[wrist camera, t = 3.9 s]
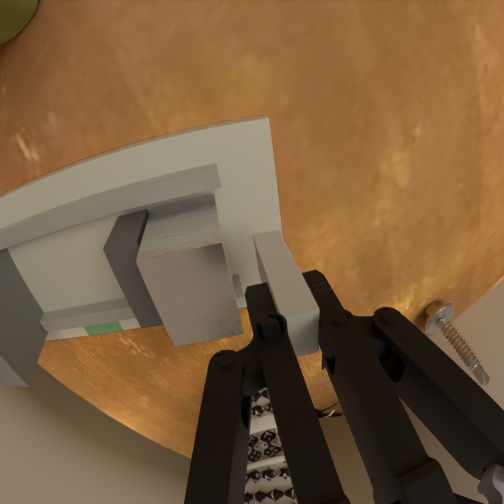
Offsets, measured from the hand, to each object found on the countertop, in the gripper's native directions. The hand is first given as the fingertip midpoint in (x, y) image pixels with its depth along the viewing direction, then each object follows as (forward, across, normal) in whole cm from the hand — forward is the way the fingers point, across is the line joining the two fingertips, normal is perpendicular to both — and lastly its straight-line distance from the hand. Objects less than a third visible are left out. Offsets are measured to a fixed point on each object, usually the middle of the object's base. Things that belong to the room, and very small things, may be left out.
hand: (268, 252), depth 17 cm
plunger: (+3, -4, 0) cm, 5 cm away
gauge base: (+5, -10, 0) cm, 11 cm away
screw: (+5, +20, -17) cm, 27 cm away
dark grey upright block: (+3, -8, -1) cm, 8 cm away
